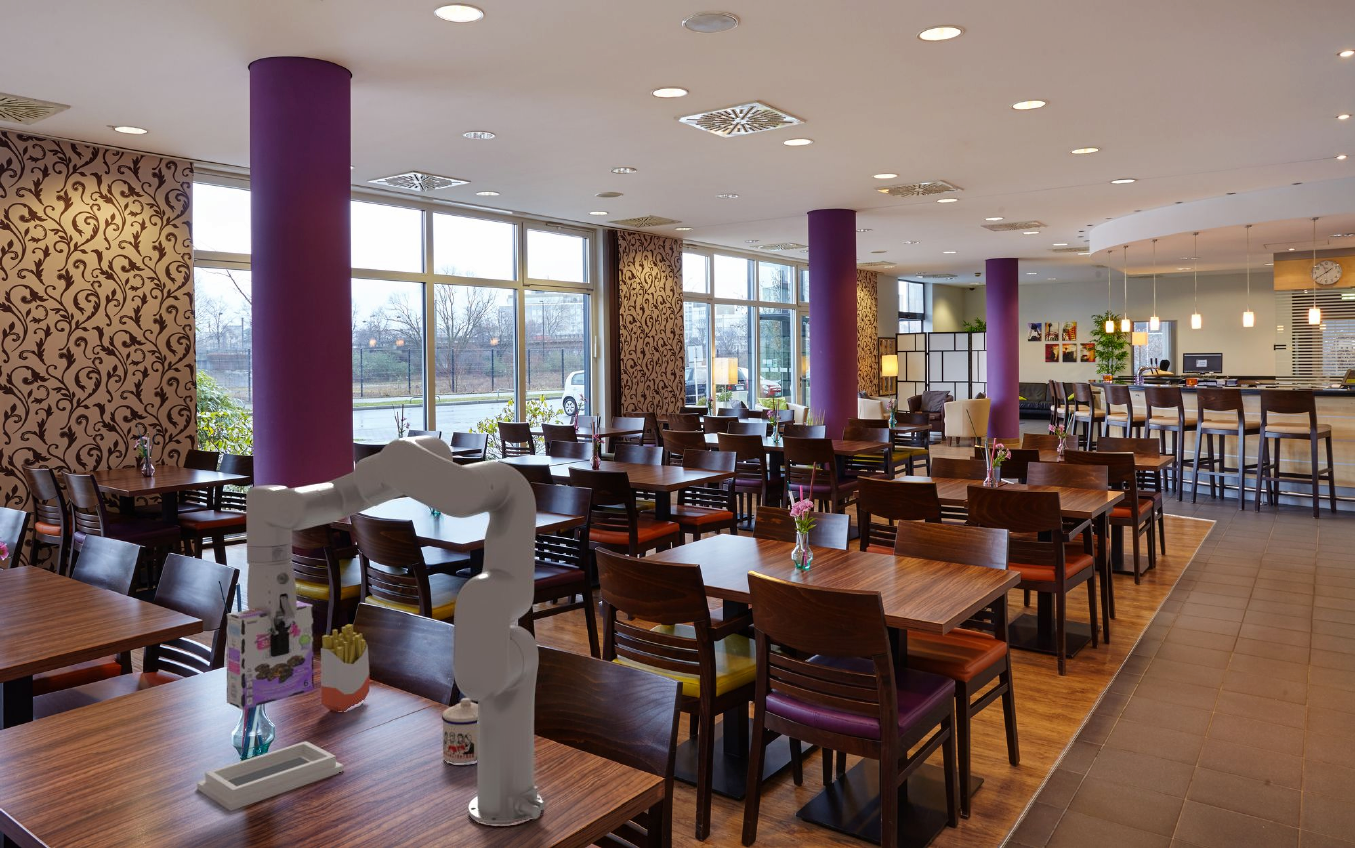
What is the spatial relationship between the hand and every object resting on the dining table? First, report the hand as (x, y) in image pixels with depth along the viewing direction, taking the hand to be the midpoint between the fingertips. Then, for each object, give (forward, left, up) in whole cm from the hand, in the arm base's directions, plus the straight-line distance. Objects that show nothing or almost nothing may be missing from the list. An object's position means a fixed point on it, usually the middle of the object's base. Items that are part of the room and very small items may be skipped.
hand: (270, 650), depth 166 cm
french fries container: (+24, -29, -24) cm, 45 cm away
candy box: (0, 0, -9) cm, 9 cm away
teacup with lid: (-20, -30, -24) cm, 44 cm away
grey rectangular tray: (0, 0, -24) cm, 24 cm away
